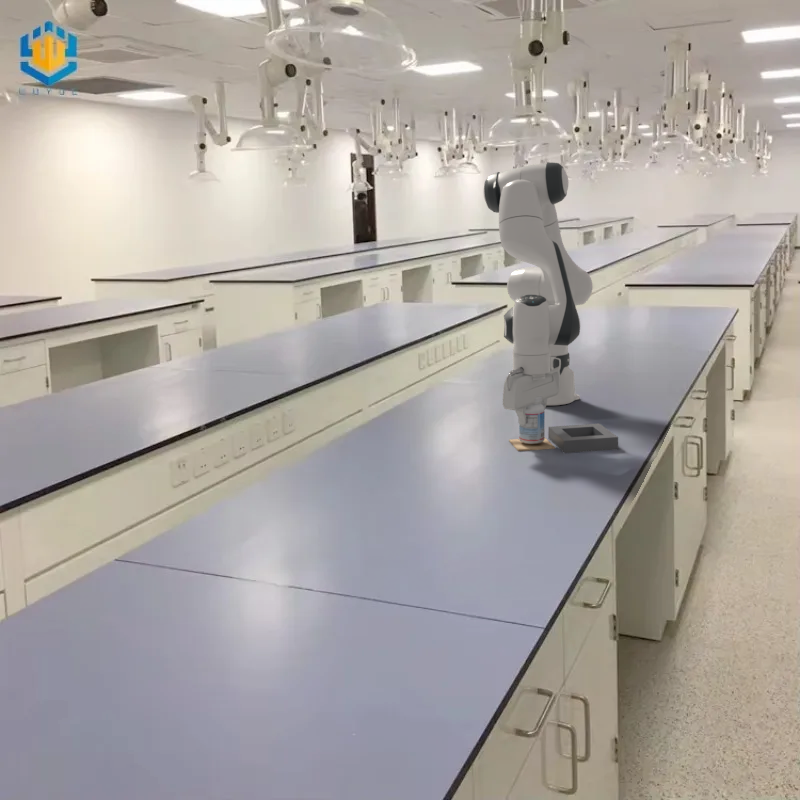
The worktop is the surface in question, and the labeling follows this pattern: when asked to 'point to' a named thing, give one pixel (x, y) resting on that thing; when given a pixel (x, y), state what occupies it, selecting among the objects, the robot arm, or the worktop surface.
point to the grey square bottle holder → (582, 438)
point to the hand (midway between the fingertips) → (531, 420)
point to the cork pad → (531, 445)
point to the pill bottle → (533, 423)
